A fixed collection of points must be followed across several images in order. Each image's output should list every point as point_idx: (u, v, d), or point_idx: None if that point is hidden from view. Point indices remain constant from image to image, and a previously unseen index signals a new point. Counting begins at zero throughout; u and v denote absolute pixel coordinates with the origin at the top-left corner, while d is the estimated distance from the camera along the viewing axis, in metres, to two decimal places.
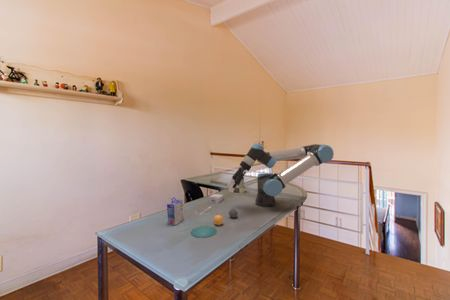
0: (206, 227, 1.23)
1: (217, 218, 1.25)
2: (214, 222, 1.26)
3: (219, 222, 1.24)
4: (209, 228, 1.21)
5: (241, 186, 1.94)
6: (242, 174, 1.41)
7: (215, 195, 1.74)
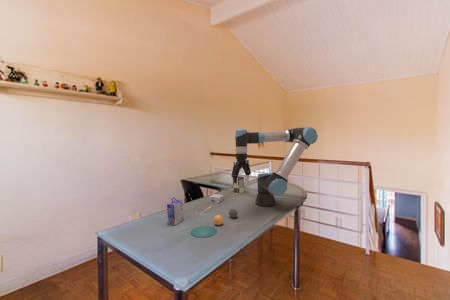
0: (206, 227, 1.23)
1: (217, 218, 1.25)
2: (214, 222, 1.26)
3: (219, 222, 1.24)
4: (209, 228, 1.21)
5: (241, 186, 1.94)
6: (234, 166, 1.38)
7: (215, 195, 1.73)
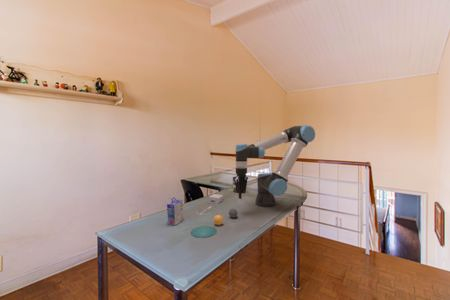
0: (206, 227, 1.23)
1: (217, 218, 1.25)
2: (214, 222, 1.26)
3: (219, 222, 1.24)
4: (209, 228, 1.21)
5: None
6: (236, 183, 1.40)
7: (215, 195, 1.73)
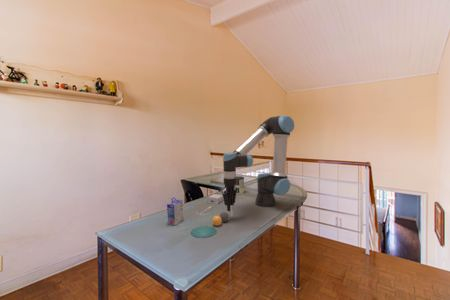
0: (206, 227, 1.23)
1: (215, 220, 1.24)
2: None
3: (218, 223, 1.24)
4: (209, 228, 1.21)
5: (241, 186, 1.94)
6: (224, 195, 1.31)
7: (214, 196, 1.72)
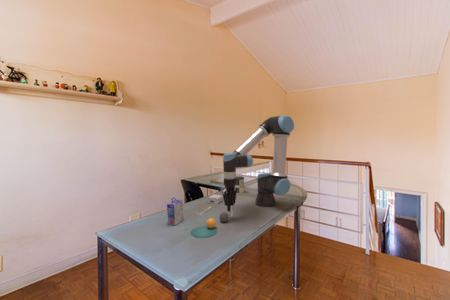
0: (206, 227, 1.23)
1: None
2: None
3: (215, 225, 1.22)
4: (209, 228, 1.21)
5: (241, 186, 1.94)
6: (224, 195, 1.31)
7: (214, 196, 1.72)
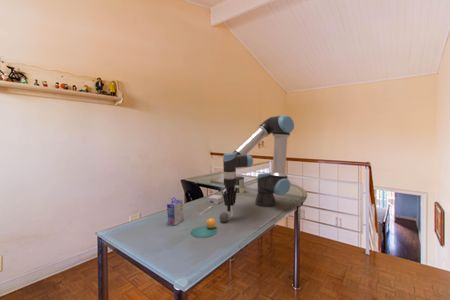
0: (206, 227, 1.23)
1: None
2: None
3: (215, 225, 1.22)
4: (209, 228, 1.21)
5: (241, 186, 1.94)
6: (224, 195, 1.31)
7: (214, 196, 1.71)
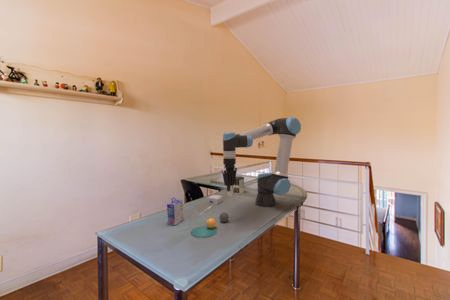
0: (206, 227, 1.23)
1: None
2: None
3: (215, 225, 1.22)
4: (209, 228, 1.21)
5: (241, 186, 1.94)
6: (224, 175, 1.30)
7: (213, 196, 1.70)
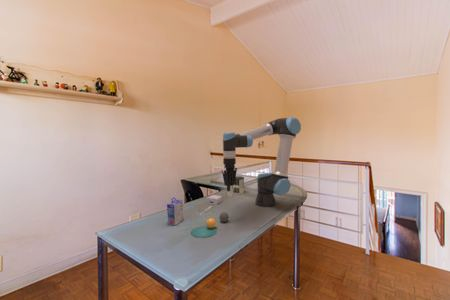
0: (206, 227, 1.23)
1: None
2: None
3: (215, 225, 1.22)
4: (209, 228, 1.21)
5: (241, 186, 1.94)
6: (224, 175, 1.30)
7: (213, 196, 1.70)
